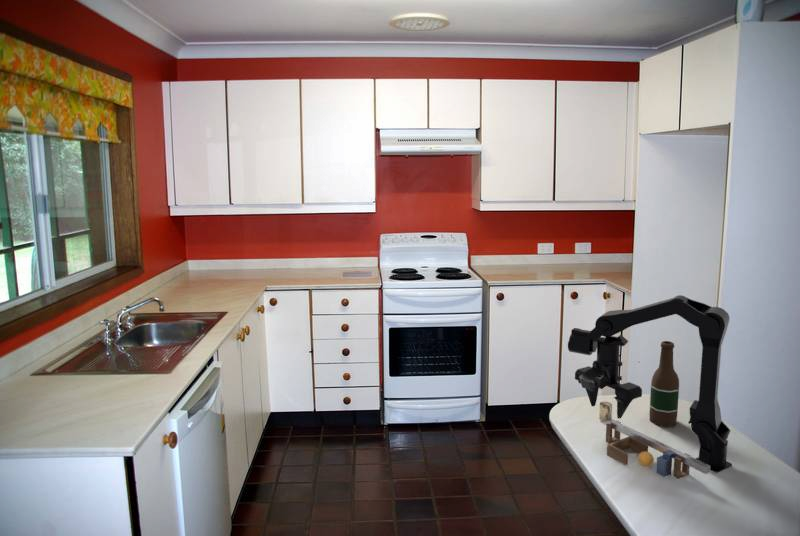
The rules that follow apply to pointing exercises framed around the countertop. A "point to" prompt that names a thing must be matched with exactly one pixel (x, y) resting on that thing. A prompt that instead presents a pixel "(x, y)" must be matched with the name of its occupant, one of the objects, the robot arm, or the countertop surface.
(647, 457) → the ball
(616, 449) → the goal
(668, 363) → the beer bottle
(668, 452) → the rod
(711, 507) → the countertop surface
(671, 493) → the countertop surface
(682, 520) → the countertop surface
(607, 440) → the block
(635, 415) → the countertop surface
